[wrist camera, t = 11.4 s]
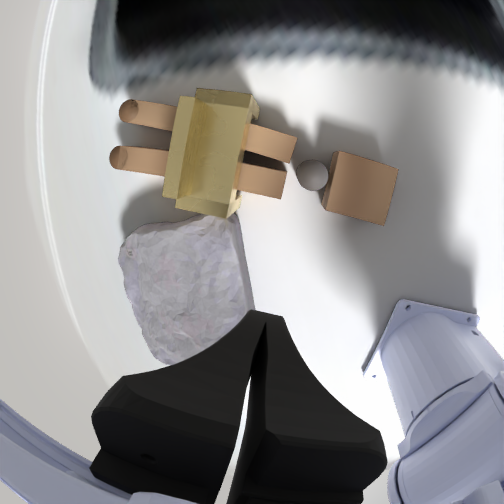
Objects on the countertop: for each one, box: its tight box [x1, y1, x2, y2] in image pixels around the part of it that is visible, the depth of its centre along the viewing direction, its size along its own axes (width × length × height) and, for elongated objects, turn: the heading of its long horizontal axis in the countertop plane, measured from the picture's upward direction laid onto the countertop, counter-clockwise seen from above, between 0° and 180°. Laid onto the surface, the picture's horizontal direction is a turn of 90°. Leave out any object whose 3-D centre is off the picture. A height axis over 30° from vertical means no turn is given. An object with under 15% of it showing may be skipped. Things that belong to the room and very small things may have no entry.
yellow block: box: [162, 88, 260, 219], centre depth 15 cm, size 3×7×6 cm, turn 169°
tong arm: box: [119, 99, 297, 163], centre depth 17 cm, size 12×2×2 cm, turn 73°
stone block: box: [118, 213, 255, 365], centre depth 21 cm, size 12×5×10 cm
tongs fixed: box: [109, 146, 398, 226], centre depth 17 cm, size 18×4×2 cm, turn 79°
